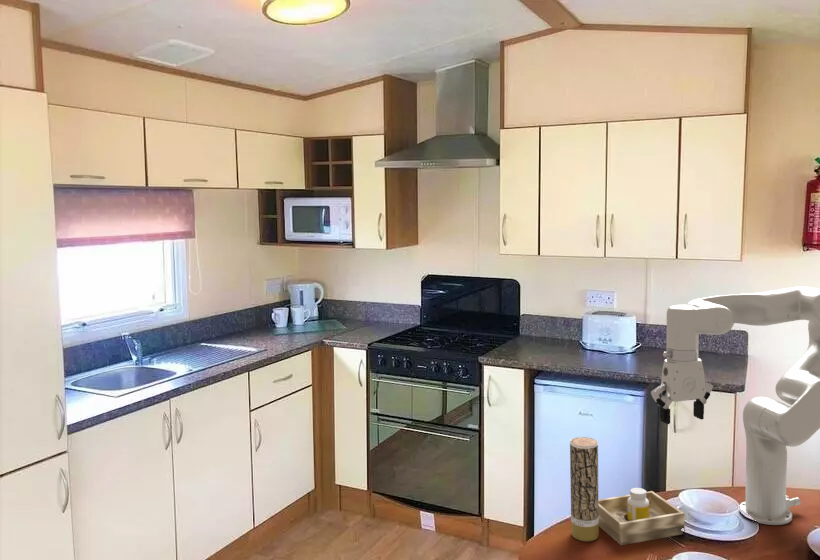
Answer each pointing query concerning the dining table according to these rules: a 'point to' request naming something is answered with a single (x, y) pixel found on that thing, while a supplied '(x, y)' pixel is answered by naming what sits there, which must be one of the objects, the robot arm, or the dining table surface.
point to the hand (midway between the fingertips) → (682, 420)
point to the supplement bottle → (637, 505)
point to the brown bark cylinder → (584, 488)
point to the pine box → (640, 520)
